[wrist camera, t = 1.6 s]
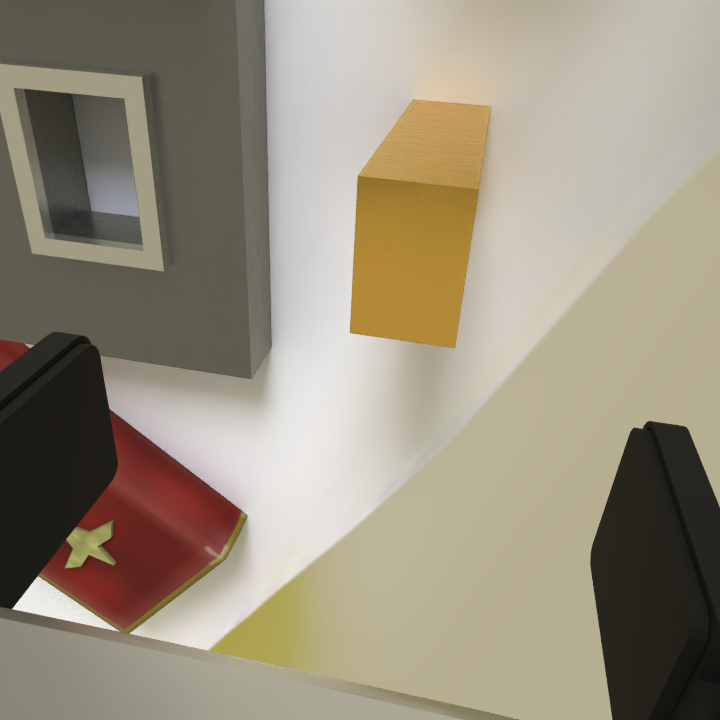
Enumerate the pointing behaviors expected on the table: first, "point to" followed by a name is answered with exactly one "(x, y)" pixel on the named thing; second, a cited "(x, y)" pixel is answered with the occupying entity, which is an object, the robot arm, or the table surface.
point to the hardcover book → (140, 531)
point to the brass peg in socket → (418, 224)
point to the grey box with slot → (138, 181)
